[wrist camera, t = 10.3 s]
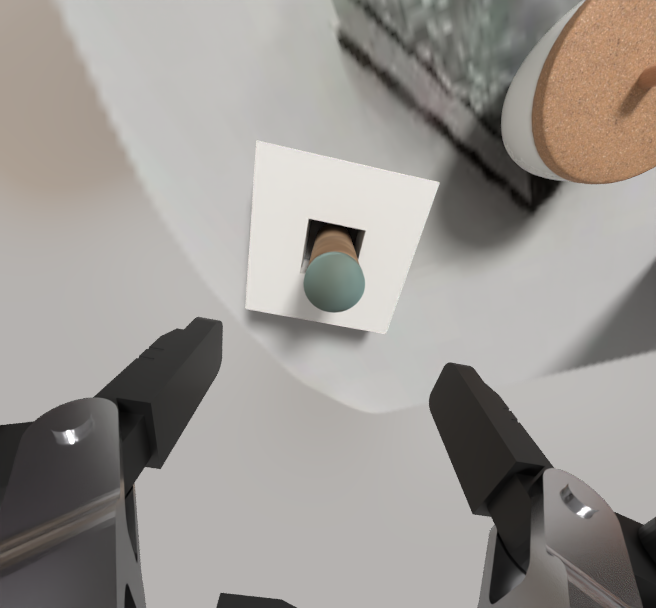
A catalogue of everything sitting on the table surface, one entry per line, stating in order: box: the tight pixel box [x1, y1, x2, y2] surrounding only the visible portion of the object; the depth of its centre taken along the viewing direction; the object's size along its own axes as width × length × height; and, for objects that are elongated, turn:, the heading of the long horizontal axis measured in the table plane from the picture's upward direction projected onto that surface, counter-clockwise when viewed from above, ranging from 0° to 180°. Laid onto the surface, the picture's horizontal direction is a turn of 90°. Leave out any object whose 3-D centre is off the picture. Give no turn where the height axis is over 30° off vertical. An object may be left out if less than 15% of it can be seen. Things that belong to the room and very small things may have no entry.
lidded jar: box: [501, 0, 656, 184], centre depth 17 cm, size 11×11×9 cm
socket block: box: [245, 140, 440, 334], centre depth 24 cm, size 14×14×4 cm
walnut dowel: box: [303, 223, 365, 313], centre depth 21 cm, size 4×4×12 cm
